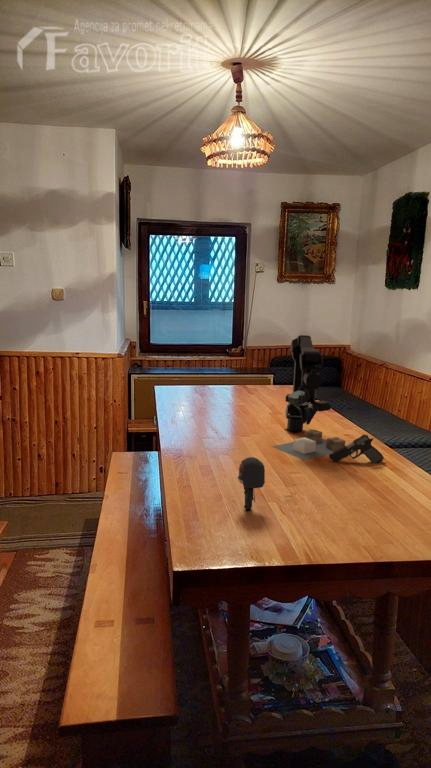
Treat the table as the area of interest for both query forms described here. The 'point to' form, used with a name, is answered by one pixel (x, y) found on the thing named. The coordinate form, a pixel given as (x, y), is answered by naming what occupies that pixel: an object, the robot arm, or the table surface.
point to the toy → (251, 478)
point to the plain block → (304, 445)
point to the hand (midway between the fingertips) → (305, 423)
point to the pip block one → (314, 435)
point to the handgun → (358, 444)
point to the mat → (319, 451)
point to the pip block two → (335, 443)
